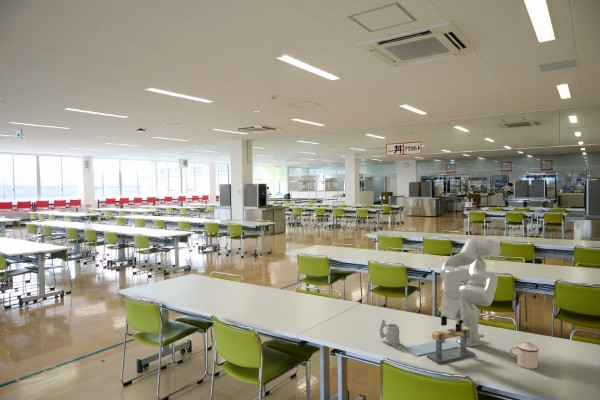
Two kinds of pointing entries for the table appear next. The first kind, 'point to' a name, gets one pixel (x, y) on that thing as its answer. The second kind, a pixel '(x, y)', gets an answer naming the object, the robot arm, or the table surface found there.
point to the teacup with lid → (526, 355)
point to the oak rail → (449, 333)
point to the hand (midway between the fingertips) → (451, 328)
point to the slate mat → (429, 348)
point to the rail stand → (451, 351)
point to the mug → (390, 333)
